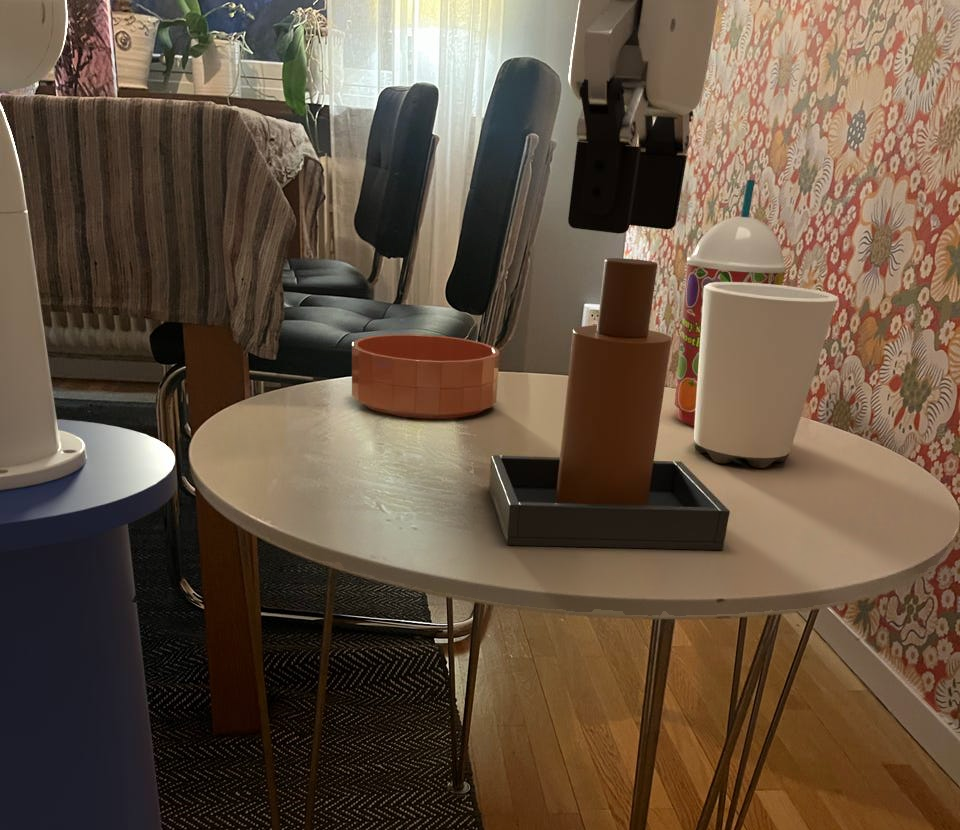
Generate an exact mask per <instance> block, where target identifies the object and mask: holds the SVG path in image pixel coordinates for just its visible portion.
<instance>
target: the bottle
mask: <svg viewBox="0 0 960 830" xmlns="http://www.w3.org/2000/svg"><path fill="white" fill-rule="evenodd" d="M657 271H658V263H657V262H656V261H651V260H647V259H634V258H623V257H620V258H618V257H610V258H605V259H604V264H603V273H602V282H601V290H600V297H599V298H600V299H599V308H598V317H597V325H583V326H578V327H575V328H573V329H572V335H571V336H572V338H571V345H570V346H571V347H570V355H569V366H568V375H567V376H568V377H567V378H568V379H567V386H566V395H565V406H564V415H563V424H562V425H563V426H562V434H561V446H560V454H559V458H560V463H559V473H558V483H557V493H556V502H555V503H570V504H604V505H639V506H647V503H648V496H649V489H650V482H651V476H652V469H653V462H654V461H655V455H656V450H657V449H656V448H657V442H658V435H659V427H660V421H661V414H662V409H663V408H662V407H663V400H664V393H665V386H666V381H667V374H668V367H669V360H670V354H671V346H672V341H673V339H672V336H670V335H668V334H666V333H663V332H660V331H655V330H650V323H651V315H652V308H653V302H654V294H655V285H656V279H657V273H658V272H657Z"/></svg>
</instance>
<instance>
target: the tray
mask: <svg viewBox="0 0 960 830" xmlns="http://www.w3.org/2000/svg"><path fill="white" fill-rule="evenodd" d="M559 463H560V457H558V456H557V457H555V456H554V457H552V456H528V455H526V456H524V455H523V456H522V455H498V454H492V455H490V469H489V484H488V492H489V495H490V497H491V498H490V499H491V501H492V504H493V507H494V510H495V513H496V516H497V519H498V522H499V525H500V529H501V532H502V534H503V538H504V542H505V545H506V546H530V547H531V546H532V547H533V546H534V547H572V548H573V547H575V548H576V547H577V548H621V549H624V548H625V549H660V550H661V549H662V550H663V549H664V550H667V549H668V550H702V551H703V550H705V551H723V550H724V545H725V540H726V535H727V529H728V524H729V519H730V515H731V514H730V512H731V511H730V509H729V508H728V507H727V506H726V505H725V504H723V502H722V501H721V500H720V499H719V498H718V497H717V496H716V495H715V494H714V493H713V492H712V491H711V489H709V488H708V487H707V486H706V485H705V484H704V483H703V482H702V481H701V480H700V479H699V477H697V476H696V475H695V474H694V473H693V471H691V470H690V469H689V467H687V466H686V464H685V463H684V462H683V461H677V460H676V461H673V460H672V461H670V460H654V462H653V469H652V476H651V482H650V489H649V496H648V503H647V506H639V505H604V504H570V503H555V502H556V493H557V483H558V473H559Z"/></svg>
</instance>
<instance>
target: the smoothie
mask: <svg viewBox="0 0 960 830" xmlns="http://www.w3.org/2000/svg"><path fill="white" fill-rule="evenodd" d="M755 183H756V180H755V179H746V182H745V189H744V194H743V199H742V200H743V201H742V205H741V207H742V208H741V213H740V215H736V216H732V217H729V218H726V219H723V220H722V221H719V222H717V223H716V224H713V226H711V227H710V228H709V229H708V230H707V231H706V232H705V233H704V234H703V236H702V237H701V238H700V240H699V241H698V243H697V244H696V246H695V248H694V249H693V252H692V254H691V255H690V256H688V257H687V258H686V264H687V269H686V275H685V278H686V279H685V286H684V298H683V309H682V320H681V331H680V342H679V352H678V363H677V374H676V383H675V384H676V386H675V395H674V396H675V397H674V406H675V407H677V408H678V420H679V421H681V422H682V423H683V424H686V425H688V426H691V427H694V426H695V411H696V396H697V381H698V366H699V351H700V337H701V322H702V307H703V292H704V286H705V285H707V284H709V283H714V282H743V283H760V284H772V285H782V286H784V285H783V284H784V280H785V275H786V273H787V270H788V265H787V264H785V261H784V254H783V251H782V246H781V244H780V241H779V239H778V237H777V235H776V234H775V232H774V230H772V229H771V228H770V227H769V225H767V224H766V223H764V222H763V221H761V220H759V219H758V218H756V217H752V216H750V213H751V212H750V211H751V205H752V201H753V200H752V199H753V196H754V195H753V193H754V190H755V189H754V187H755Z"/></svg>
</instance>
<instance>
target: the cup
mask: <svg viewBox="0 0 960 830" xmlns="http://www.w3.org/2000/svg"><path fill="white" fill-rule="evenodd" d="M838 300H839V297H838V296H837V295H835V294H833V293H829V292H826V291H822V290H817V289H812V288H806V287H805V288H803V287H799V286H790V285H772V284H760V283H743V282H714V283H709V284H707V285H705V286H704V292H703V307H702V322H701V337H700V351H699V366H698V381H697V396H696V411H695V426H693V427H694V428H693V446H694V451H696V452H698V453H701V454H708V455H709V457H710V458H711V460H712V461H713V462H715V463H716V464H723V465H724V464H729V463H732V462H733V461H734V460H735V459H742V460H745V461H746V462H747V463H748V465H750V466H751V467H753V468H757V469H765V468H767V467H769V466H770V465H772V464H773V463H774V462H775V463H782V462H786V460H787V459H788V457H789V456H790V452H791V449H792V446H793V443H794V440H795V437H796V434H797V430H798V428H799V424H800V421H801V418H802V415H803V411H804V408H805V405H806V402H807V398H808V395H809V392H810V389H811V386H812V383H813V379H814V376H815V373H816V370H817V367H818V365H819V361H820V357H821V354H822V351H823V348H824V345H825V341H826V339H827V335H828V331H829V329H830V326H831V323H832V319H833V316H834V313H835V310H836V307H837V303H838Z"/></svg>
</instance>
